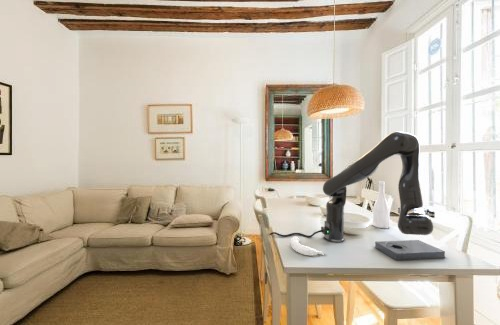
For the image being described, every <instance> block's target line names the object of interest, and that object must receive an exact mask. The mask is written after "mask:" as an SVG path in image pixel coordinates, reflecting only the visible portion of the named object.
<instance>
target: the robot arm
mask: <svg viewBox="0 0 500 325" xmlns="http://www.w3.org/2000/svg"><path fill="white" fill-rule="evenodd" d="M393 156H400V159H401V167H402V168H401V173H400V177H399V179H398V184H397V187H398V188H397V191H398V197H399V207H398V208H397V213H398V219H397V228H398V230H399V232H401V233H402V234H404V235H413V236H414V235H415V236H429V235H431V234H433V231H434V223H433V221H432V219H435V218H436V217H435V215H436V212H435V211H433V210H432V209H430V208H424V207H423V206H424V202H423V196H422V190H421V189H422V188H421V184H420V140H419V138H418V137H417V136H416V135H414V134H412V133H409V132H403V131H392V132H391V133H389V134H387V136H385V137H384V138H383V139H382V140H380V141H379V142H378V144H376V145H375V146H374V147H373V148H372V149H370V150H369V151H368V152H366V153H365V154H364V155H362V156H361V157H360V158H358V159H357V160H355V161H354V162H353V163H351V164H350V165H348V166H347V167H345V168H344V169H343V170H342V171H341V172H339V173H337V174H335V175H334V176H333V177H331V178H328V179H327V180H326V181H325V182H324V183H323V185H322V192H323V193H324V194H325V195H326V196H328V197H331V199H330V200H328V201H327V202H326V205H325V220H324V226H321V227H320V230H316V231H315V232H313V233H312V234H310V235H306V234H305V233H301V232H291V233H287V234H280V233H278V232H276V231H271V232H270V233H269V236H272V235H277V236H279V237H283V238H286V237H290V236H297V235H298V236H299V235H300V236H302V237H304V238H312V237H314V236H315V235H316V234H319V233H322V234H323V238H324V239H326V240H327V241H328V242H334V243H342V242H344V240H345V238H344V235H345V206H346V202H347V193H348V192H347V187H348V186H350V185H354V184H356V183H360V182H362V181H364V180H366V179H368V178H369V177H371V176H372V175H374V174H375V173H376V172H377V170H378V168H379V166H380V165H381V163H382V162H384V161H386V160H387V159H389V158H391V157H393ZM431 218H432V219H431ZM267 284H268V272H265V273H264V285H267Z"/></svg>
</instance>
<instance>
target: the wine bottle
mask: <svg viewBox="0 0 500 325" xmlns="http://www.w3.org/2000/svg"><path fill="white" fill-rule="evenodd" d="M385 185H386V182H385V180H379V181H378V192H377V197H376V199H375V201H374V204H373V207H372V226H373V227H375V228H379V229H388V228H390V215H391V214H390V213H391V212H390V206H389V203H388V200H387V197H386V193H385V192H386V190H385V189H386V188H385V187H386V186H385Z"/></svg>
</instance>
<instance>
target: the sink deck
mask: <svg viewBox="0 0 500 325" xmlns="http://www.w3.org/2000/svg"><path fill="white" fill-rule="evenodd" d="M374 243H375V244H374V248H375V249H377V250H378V251H380V252H382V253H384V254H386V255H387V256H389V257H391V258H392V259H393V260H395V261H408V260H409V261H410V260H425V259H426V260H428V259H444V258H445V257H446V252H445V250H443V249H440V248H438V247H436V246H433V245H431V244H429V243H427V242H425V241H422V240H420V239H412V240H411V239H410V240H409V239H408V240H385V241H375V242H374Z"/></svg>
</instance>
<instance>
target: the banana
mask: <svg viewBox="0 0 500 325" xmlns="http://www.w3.org/2000/svg"><path fill="white" fill-rule="evenodd" d="M300 241H301V239H300V238H299V236H293V237H292V238H291V239H290V246H291V248H292V249H293V250H294V251H295V252H297V253H299V254H300V255H303V256H314V255H316V254H318V255H322V256H324V255H325V253H324V252H323V251H321V250H317V249H315V248H313V247H310V246H308V245H304V244H302V243H300Z"/></svg>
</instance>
